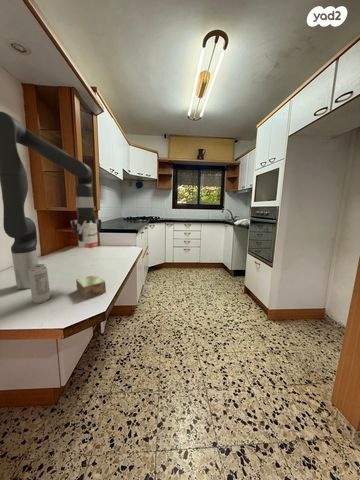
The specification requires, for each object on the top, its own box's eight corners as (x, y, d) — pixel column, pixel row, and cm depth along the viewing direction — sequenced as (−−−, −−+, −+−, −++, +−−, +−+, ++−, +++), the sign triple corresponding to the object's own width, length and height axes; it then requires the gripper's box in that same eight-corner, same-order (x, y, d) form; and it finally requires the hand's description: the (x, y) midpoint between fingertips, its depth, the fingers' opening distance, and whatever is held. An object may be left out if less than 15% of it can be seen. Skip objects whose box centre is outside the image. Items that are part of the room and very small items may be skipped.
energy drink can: (46, 295, 82) (41, 262, 79) (53, 299, 79) (49, 265, 76) (29, 301, 77) (24, 266, 74) (37, 305, 74) (31, 269, 71)
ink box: (98, 246, 95) (97, 223, 93) (90, 248, 91) (88, 224, 89) (86, 244, 99) (84, 222, 97) (78, 246, 94) (76, 223, 92)
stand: (85, 298, 79) (84, 287, 78) (77, 290, 87) (76, 279, 86) (106, 292, 85) (105, 281, 84) (96, 284, 93) (96, 274, 92)
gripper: (71, 206, 83) (74, 243, 87) (103, 206, 93) (105, 239, 97) (66, 206, 89) (69, 241, 92) (97, 206, 99) (99, 237, 102)
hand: (88, 240), depth 94 cm, fingers closed on ink box, 6 cm apart
